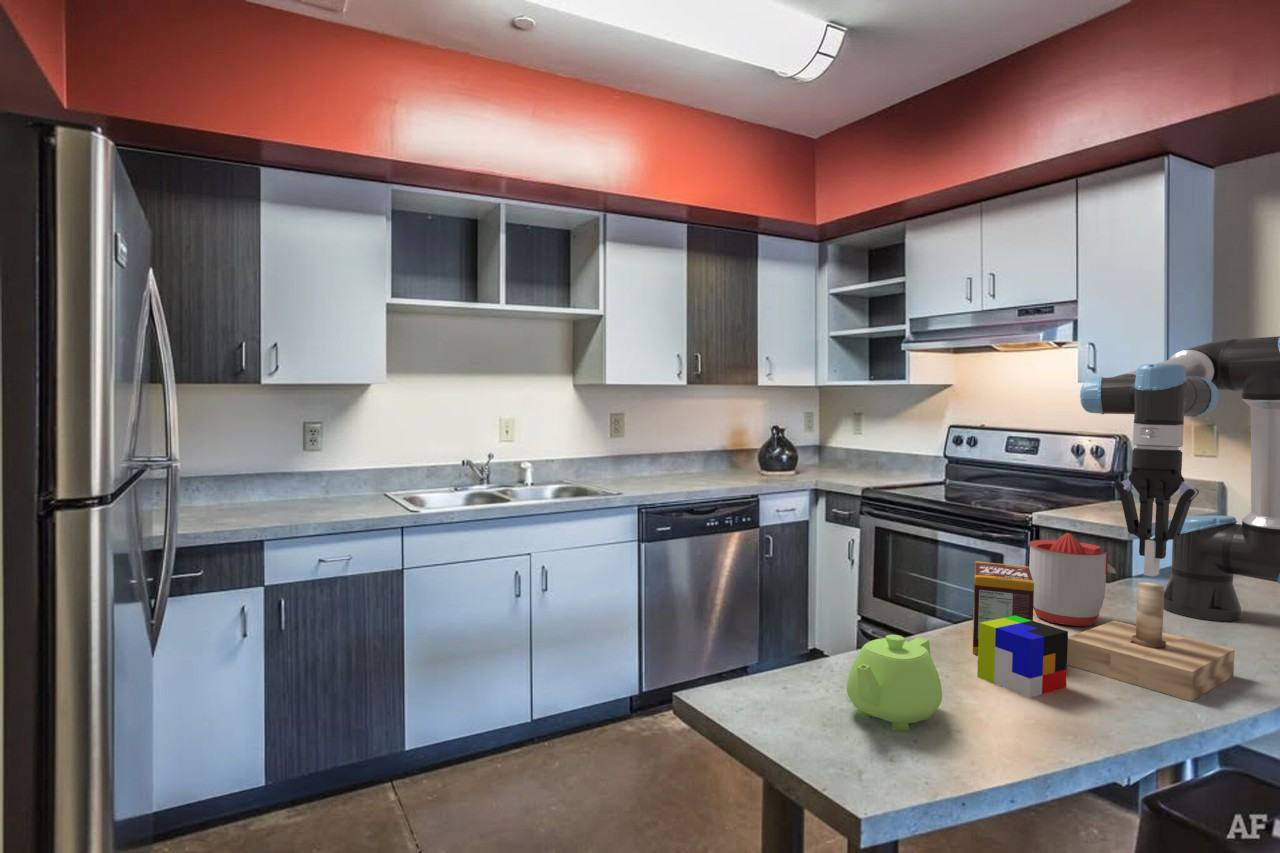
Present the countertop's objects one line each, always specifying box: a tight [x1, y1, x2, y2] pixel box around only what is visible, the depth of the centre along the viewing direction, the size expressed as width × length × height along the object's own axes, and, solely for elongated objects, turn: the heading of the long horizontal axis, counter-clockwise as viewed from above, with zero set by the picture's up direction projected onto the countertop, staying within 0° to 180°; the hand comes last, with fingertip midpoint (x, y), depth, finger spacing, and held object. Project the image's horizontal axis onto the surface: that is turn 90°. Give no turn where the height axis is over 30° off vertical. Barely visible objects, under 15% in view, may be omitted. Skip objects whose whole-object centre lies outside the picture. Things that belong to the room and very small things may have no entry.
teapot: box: [846, 634, 943, 733], centre depth 113 cm, size 20×13×13 cm
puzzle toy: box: [976, 616, 1069, 699], centre depth 128 cm, size 10×10×10 cm
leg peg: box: [1132, 581, 1166, 649], centre depth 134 cm, size 5×5×16 cm
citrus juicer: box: [1028, 532, 1117, 628], centre depth 164 cm, size 16×17×20 cm
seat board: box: [1067, 620, 1236, 702], centre depth 134 cm, size 20×20×5 cm
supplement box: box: [972, 560, 1034, 656], centre depth 146 cm, size 10×15×16 cm
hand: (1151, 574), depth 134 cm, fingers closed
